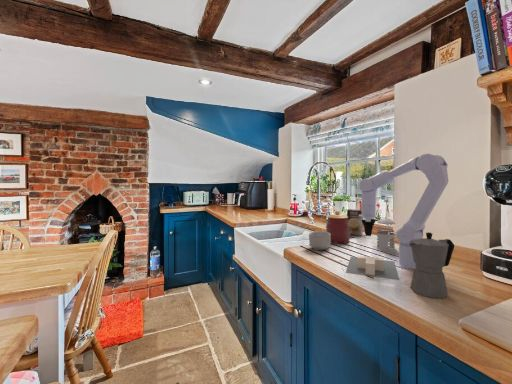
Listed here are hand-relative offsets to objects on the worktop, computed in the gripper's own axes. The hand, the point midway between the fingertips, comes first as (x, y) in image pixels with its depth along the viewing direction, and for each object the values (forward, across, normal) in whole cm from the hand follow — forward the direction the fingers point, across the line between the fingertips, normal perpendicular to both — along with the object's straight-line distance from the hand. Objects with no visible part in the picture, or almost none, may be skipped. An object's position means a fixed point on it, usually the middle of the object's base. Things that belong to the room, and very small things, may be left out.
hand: (368, 235), depth 111 cm
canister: (+10, -26, -17) cm, 32 cm away
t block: (+9, +21, +1) cm, 23 cm away
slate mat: (+9, +16, +2) cm, 19 cm away
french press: (+10, -17, +8) cm, 21 cm away
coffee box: (+10, -50, -9) cm, 52 cm away
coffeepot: (+10, +32, +18) cm, 38 cm away
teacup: (+10, -6, -23) cm, 26 cm away
